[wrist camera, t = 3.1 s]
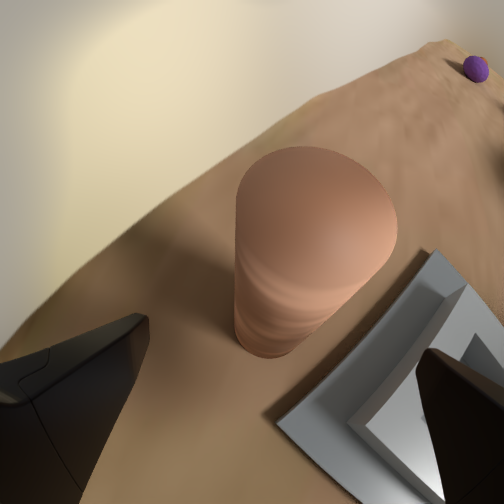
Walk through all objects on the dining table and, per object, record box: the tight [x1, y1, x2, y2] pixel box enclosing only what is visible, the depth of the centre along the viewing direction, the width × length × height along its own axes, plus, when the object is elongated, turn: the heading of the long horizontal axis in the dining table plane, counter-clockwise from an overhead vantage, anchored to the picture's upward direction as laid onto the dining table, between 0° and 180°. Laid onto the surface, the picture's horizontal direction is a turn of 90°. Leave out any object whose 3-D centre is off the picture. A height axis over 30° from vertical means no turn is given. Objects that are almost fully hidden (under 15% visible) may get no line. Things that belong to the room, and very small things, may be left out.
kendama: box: [463, 56, 489, 83], centre depth 44 cm, size 6×6×20 cm
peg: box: [234, 147, 397, 359], centre depth 14 cm, size 4×4×13 cm
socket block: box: [275, 249, 504, 504], centre depth 15 cm, size 18×18×4 cm
